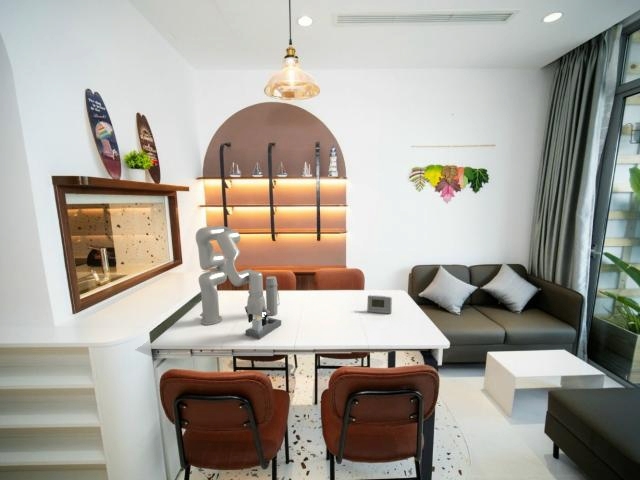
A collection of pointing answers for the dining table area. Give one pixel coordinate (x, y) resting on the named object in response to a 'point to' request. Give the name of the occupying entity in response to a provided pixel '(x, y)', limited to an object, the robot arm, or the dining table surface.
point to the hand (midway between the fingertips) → (257, 323)
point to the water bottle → (271, 295)
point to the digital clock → (379, 304)
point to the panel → (264, 328)
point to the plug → (257, 324)
